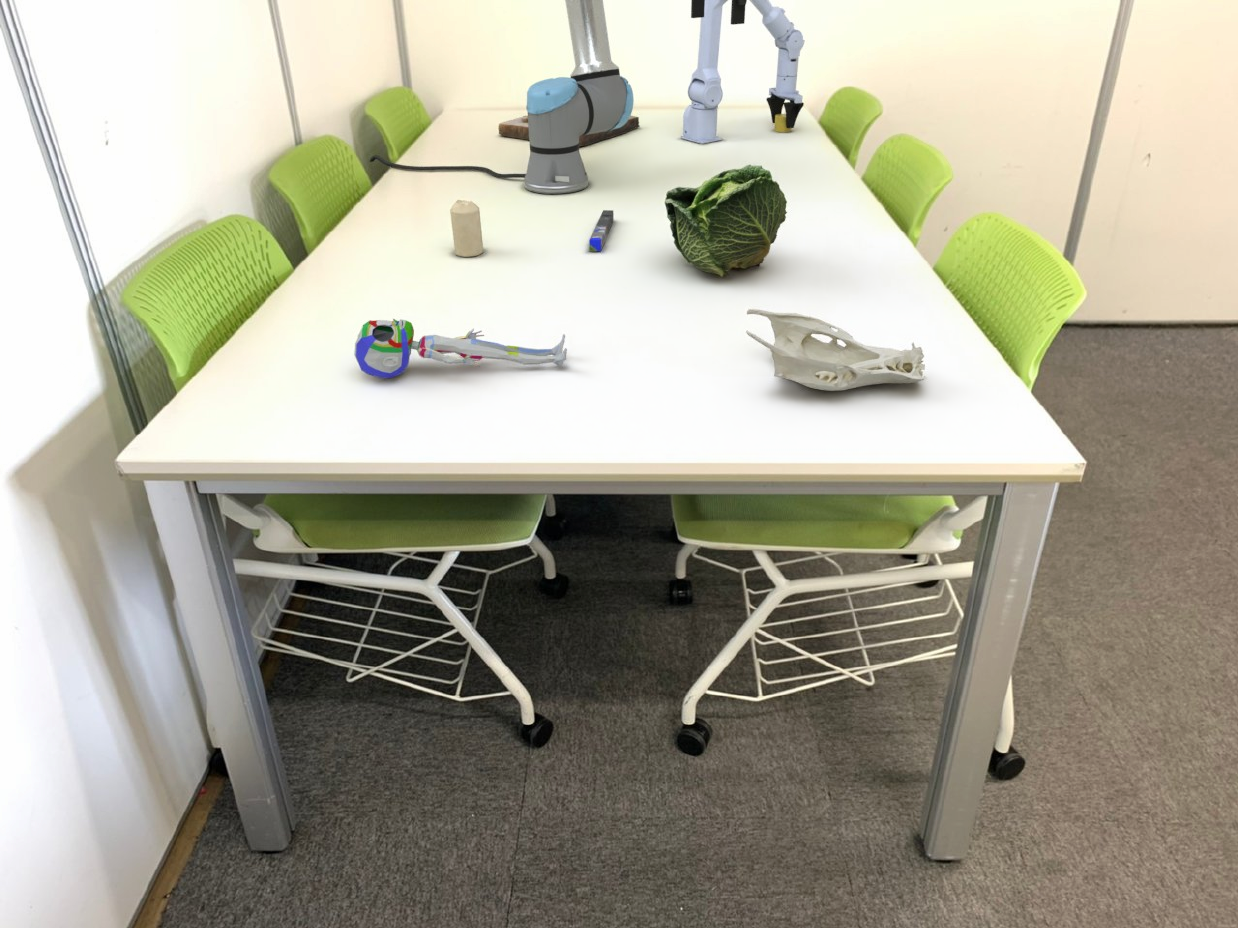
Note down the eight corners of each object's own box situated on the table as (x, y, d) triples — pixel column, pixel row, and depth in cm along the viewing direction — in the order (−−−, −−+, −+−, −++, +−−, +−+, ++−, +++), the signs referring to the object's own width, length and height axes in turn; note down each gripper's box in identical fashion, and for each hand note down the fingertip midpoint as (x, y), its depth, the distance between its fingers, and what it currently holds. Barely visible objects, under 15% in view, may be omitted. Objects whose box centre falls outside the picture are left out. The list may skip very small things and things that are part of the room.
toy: (569, 347, 126) (349, 329, 122) (563, 400, 131) (350, 385, 126) (565, 318, 135) (359, 301, 130) (559, 369, 139) (360, 354, 134)
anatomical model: (747, 299, 130) (925, 301, 126) (745, 356, 135) (916, 360, 131) (744, 342, 118) (940, 346, 114) (742, 403, 123) (930, 410, 119)
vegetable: (694, 294, 173) (643, 202, 166) (775, 239, 175) (728, 145, 167) (734, 307, 155) (678, 205, 147) (824, 245, 156) (773, 141, 149)
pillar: (613, 210, 190) (600, 241, 173) (613, 220, 191) (600, 251, 174) (603, 210, 190) (589, 240, 173) (603, 220, 191) (589, 251, 174)
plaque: (578, 121, 243) (496, 109, 258) (578, 149, 246) (497, 135, 261) (641, 104, 264) (562, 94, 278) (641, 129, 267) (563, 118, 282)
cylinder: (793, 131, 261) (794, 116, 259) (778, 133, 260) (779, 117, 257) (786, 128, 265) (787, 113, 262) (771, 129, 264) (772, 114, 261)
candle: (488, 249, 176) (483, 198, 171) (475, 258, 172) (470, 206, 167) (463, 246, 178) (457, 196, 173) (450, 255, 174) (443, 204, 168)
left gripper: (780, -108, 158) (771, 25, 169) (700, -106, 176) (697, 14, 188) (746, -108, 155) (739, 28, 166) (668, -106, 173) (667, 16, 185)
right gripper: (813, 78, 250) (808, 128, 257) (785, 70, 261) (781, 119, 268) (791, 80, 248) (787, 131, 255) (764, 72, 259) (760, 121, 266)
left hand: (717, 21), depth 177 cm, fingers open, 13 cm apart
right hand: (782, 125), depth 261 cm, fingers open, 7 cm apart
